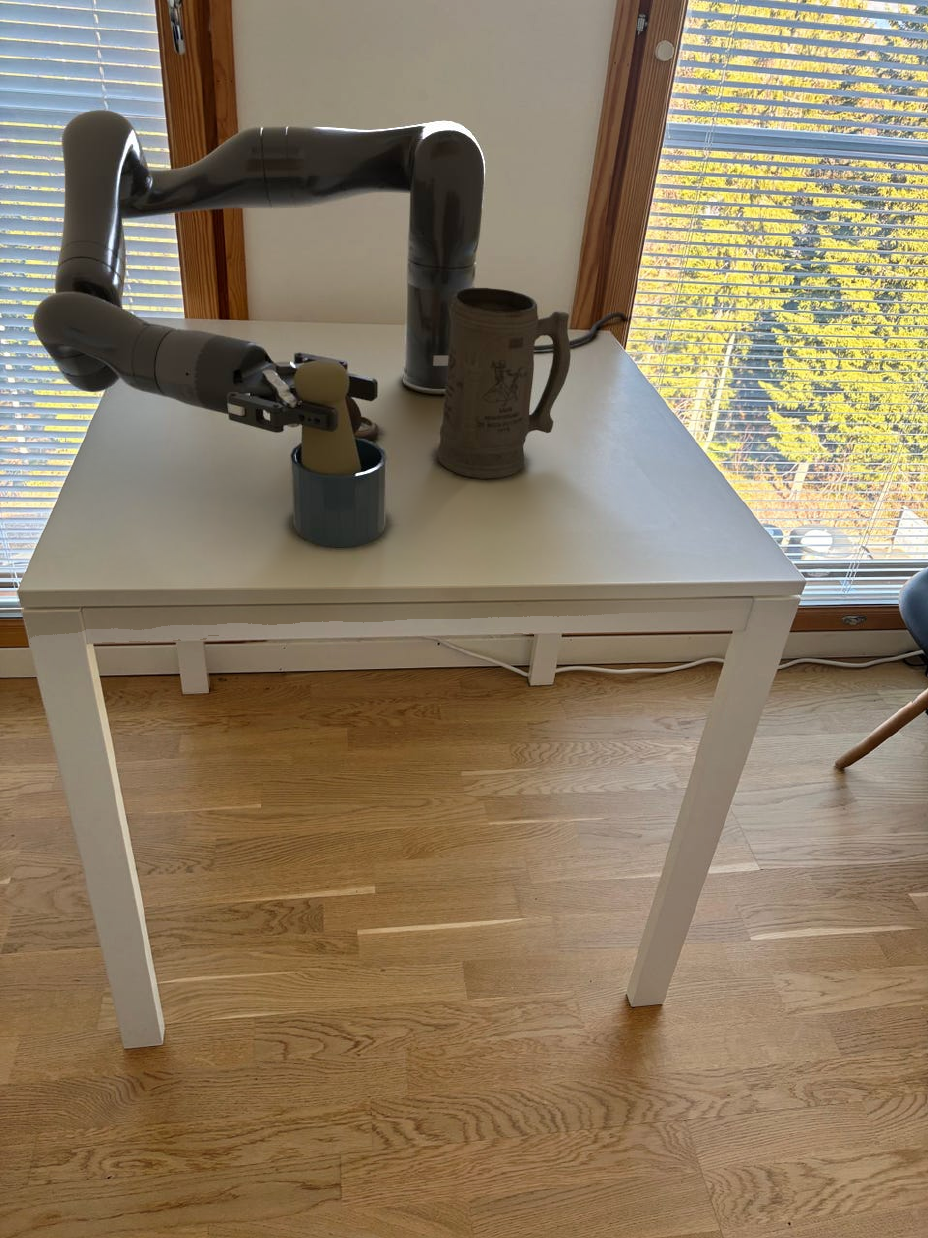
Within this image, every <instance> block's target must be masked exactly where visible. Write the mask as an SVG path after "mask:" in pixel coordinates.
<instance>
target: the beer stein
mask: <svg viewBox="0 0 928 1238" xmlns="http://www.w3.org/2000/svg"><path fill="white" fill-rule="evenodd" d="M449 316H450V319H451V333H450V346H449V357H448V368H447V378H446V387H445V394H444V399H443V410H442V411H443V413H442V421H441V422H442V423H441V425H440V429H439V439H440V440H439V445H438V449H437V459H438V461H439V463H440V464H441V465H442V466H444V468H446V469H448V470H450V471H451V472H454V473H456V474H458V475H460V476H464V477H470V478H476V479H499V478H504V477H509V476H511V475H515V474H516V473H518V472H520V471H521V470H522V468H523V466H524V464H525V451H524V445H525V443H526V439H527V436H528V434H529V433H531V432H535V431H538V432H542V433H545V434H549V433H552V429H553V427H554V420H553V418H552V417H551V416H552V415H551V411H552V408H553V406H554V403H555V402H556V400H557V398H558V396H559V394H560V393H561V391H562V390H563V387H564V385H565V382H566V380H567V378H568V377H567V376H568V374H569V371H570V365H571V355H572V354H571V346H570V343H569V341H570V339H569V333H568V331H569V329H568V328H569V327H568V325H569V318H570V314H569V313H568V312H565V311H557V310H555V311H553V312H552V313H551V315H549V316H547V317H542V318H539V313H538V304H537V302H536V300H535V299H534V298H532V297H531V296H529V295H526V294H523V293H520V292H516V291H514V290H509V289H501V288H489V287H474V288H467V289H462V290H459V291H457V292H455V294H454V295H453V297H452V302H451V306H450V308H449ZM541 336H543V337H544V336H547V337H549V338H550V339H551V341H552V344H553V349H552V360H551V366H550V369H549V374H548V375H549V376H548V378H547V381H546V384H545V387H544V389H543V392H542V394H541V397H540V399H539V401H538V403H537V404H536V407H535V408H534V410H533V412H532V413H530V412H531V411H530V409H531V398H532V390H533V383H534V382H533V380H534V371H535V370H534V369H535V356H534V354H535V350H534V345H535V343H536V341H537V340H538V339H539V338H540V337H541Z"/></svg>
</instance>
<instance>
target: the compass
mask: <svg viewBox="0 0 928 1238" xmlns="http://www.w3.org/2000/svg"><path fill="white" fill-rule="evenodd" d="M345 400H346V404H347V409H348V413H349V417H350V422H351V426H352V430H353V435H354V437H357V438H361V439H365V440H368V441H371V440H373V439H374V438H376V437H377V436H378V435H379V426H378V424H376V423H375V422H374V421H372V420H371V419H370V418H368V417H365V416H362V413H361V410H360V407H359V405H358V403H357V402H356V400H355V399H353V397H349V396H345Z"/></svg>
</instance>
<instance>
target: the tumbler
mask: <svg viewBox="0 0 928 1238" xmlns="http://www.w3.org/2000/svg"><path fill="white" fill-rule="evenodd" d="M354 439H355V443H356V448H357V452H358V456H359V461H360V465H361V471H360V473H357V474H351V475H330V474H322V473H318V472H314V471H311V470H309V469H307V468H305V467H303V466H302V465H301V455H302V442H300V443H299V444H297V445H296V446H295V447H293V448H292V451H291V453H290V455H289V457H290V477H291V478H290V479H291V496H292V497H291V500H292V518H293V527H294V530H295V532H296V533H297V534H298V536H300V537H301V538H302V539H304V540H305V541H307V542H310V543H312V544H315V545H317V546H323V547H329V548H351V547H357V546H362V545H365V544H368V543H370V542H373V541H374V540H376V539H377V538H379V537H380V536H381V535H382V533H383V532H384V530H385V527H386V518H387V517H386V515H387V514H386V512H387V468H388V467H387V466H388V465H387V464H388V463H387V459H388V456H387V454H386V452H385V450H384V448H382V447H381V446H379V445H378V444H377V443H375V442H372V441H371V440H369V441H368V440H365V439H361V438H357V437H354Z"/></svg>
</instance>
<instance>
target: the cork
mask: <svg viewBox="0 0 928 1238" xmlns="http://www.w3.org/2000/svg"><path fill="white" fill-rule="evenodd" d="M347 373H348V370H347V371H346V369H345V368H344V367H343V365H341V364H339V363H337V362H335V361H330V360H316V361H311V362H307V363H305V364H303V365H302V366H300V367H299V368H298V369H297V371H296V373H295V376H294V385H295V389H296V391H297V394H298V396H299V397H300V398H301V399H302V401H308V402H312V403H316V404H321V405H325V406H329V407H334V408H335V409H336V410H337V411H338V428H337V429H336V430H334V431H333V432H328V431H324V430H320V429H316V428H312V427H307V426H303V425H301V443H302V455H301V465H302V466H303V467H305V468H307V469H309V470H311V471H314V472H318V473H322V474H330V475H351V474H357V473H360V471H361V465H360V461H359V456H358V452H357V448H356V443H355V439H354V435H353V430H352V426H351V422H350V417H349V413H348V409H347V404H346V400H345V396H346V394H347V392H348V389H349V376H348V374H347Z"/></svg>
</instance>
